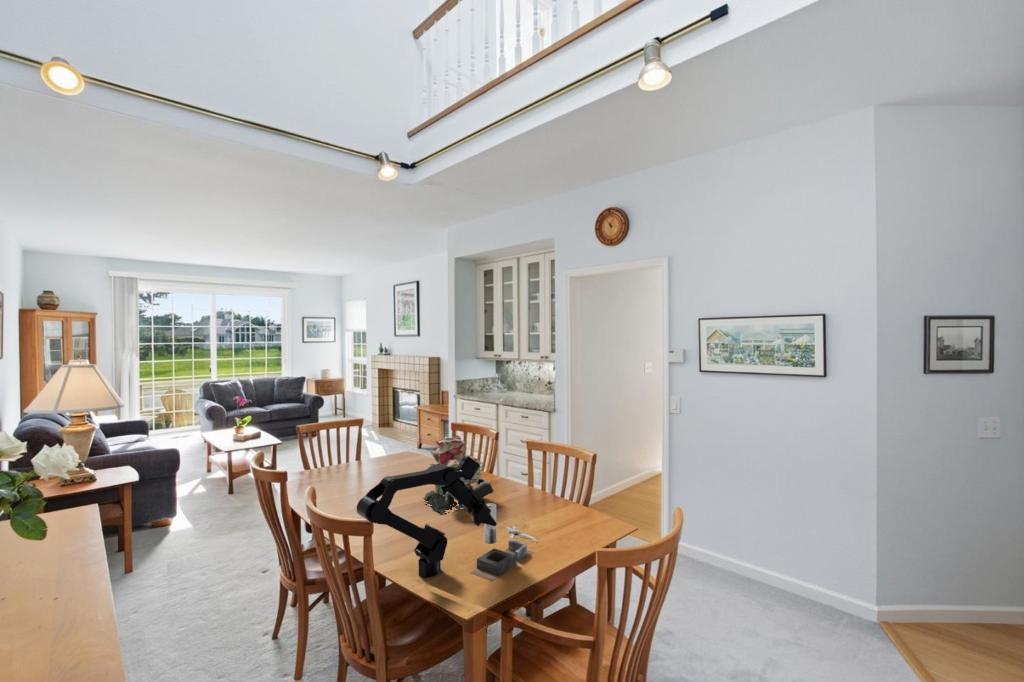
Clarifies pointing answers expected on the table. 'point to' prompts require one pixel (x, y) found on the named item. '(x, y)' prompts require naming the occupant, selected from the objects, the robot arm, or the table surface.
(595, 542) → the table surface
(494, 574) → the block with square hole
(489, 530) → the axle
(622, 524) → the table surface
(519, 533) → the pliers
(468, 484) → the rose bouquet
